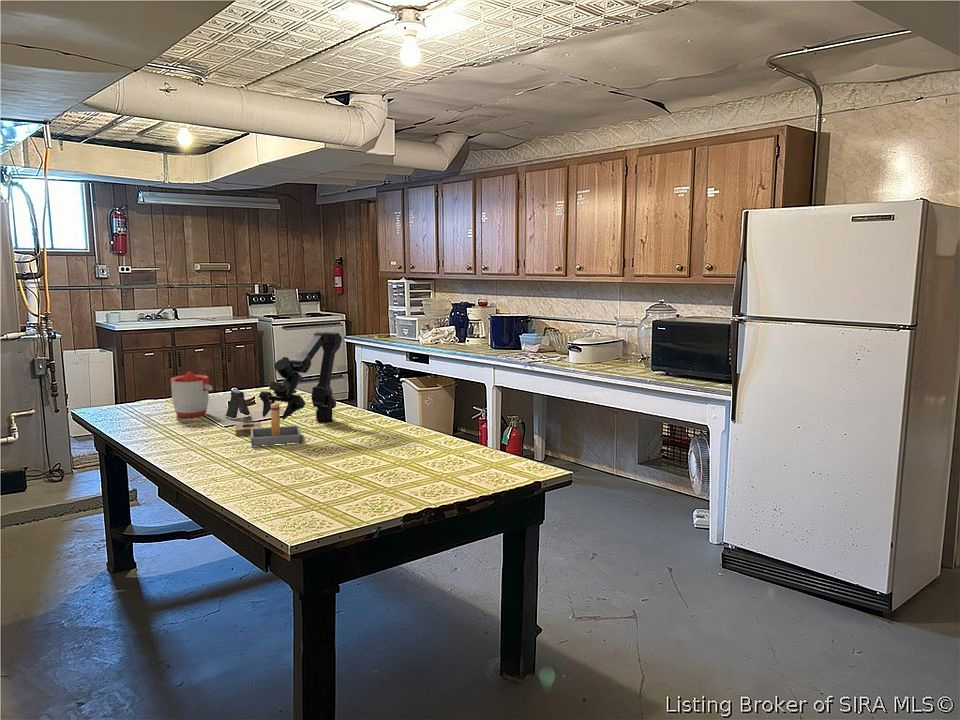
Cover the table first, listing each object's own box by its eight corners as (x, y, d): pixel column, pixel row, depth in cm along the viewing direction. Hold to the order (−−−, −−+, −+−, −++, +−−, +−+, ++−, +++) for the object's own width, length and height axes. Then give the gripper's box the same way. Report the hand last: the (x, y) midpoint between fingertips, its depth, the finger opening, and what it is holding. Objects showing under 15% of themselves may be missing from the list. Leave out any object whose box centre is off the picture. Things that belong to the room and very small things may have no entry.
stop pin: (276, 437, 275) (276, 403, 272) (282, 438, 273) (281, 404, 270) (269, 438, 272) (268, 404, 270) (275, 440, 270) (274, 405, 268)
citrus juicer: (206, 419, 302) (204, 374, 298) (166, 419, 302) (163, 374, 298) (219, 411, 317) (217, 368, 314) (181, 410, 317) (179, 367, 314)
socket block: (261, 427, 290) (260, 421, 290) (261, 434, 281) (261, 428, 281) (235, 429, 287) (235, 423, 287) (235, 435, 278) (235, 429, 278)
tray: (298, 433, 282) (298, 425, 282) (301, 443, 269) (301, 435, 268) (250, 437, 276) (250, 428, 276) (251, 447, 263) (251, 438, 262)
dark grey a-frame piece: (232, 420, 302) (231, 393, 300) (225, 417, 306) (224, 391, 304) (251, 416, 308) (250, 390, 306) (244, 414, 312) (243, 388, 310)
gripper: (260, 371, 275) (243, 404, 267) (300, 375, 269) (283, 409, 260) (273, 387, 284) (257, 419, 275) (312, 391, 277) (296, 424, 269)
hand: (273, 417), depth 270 cm, fingers open, 9 cm apart
